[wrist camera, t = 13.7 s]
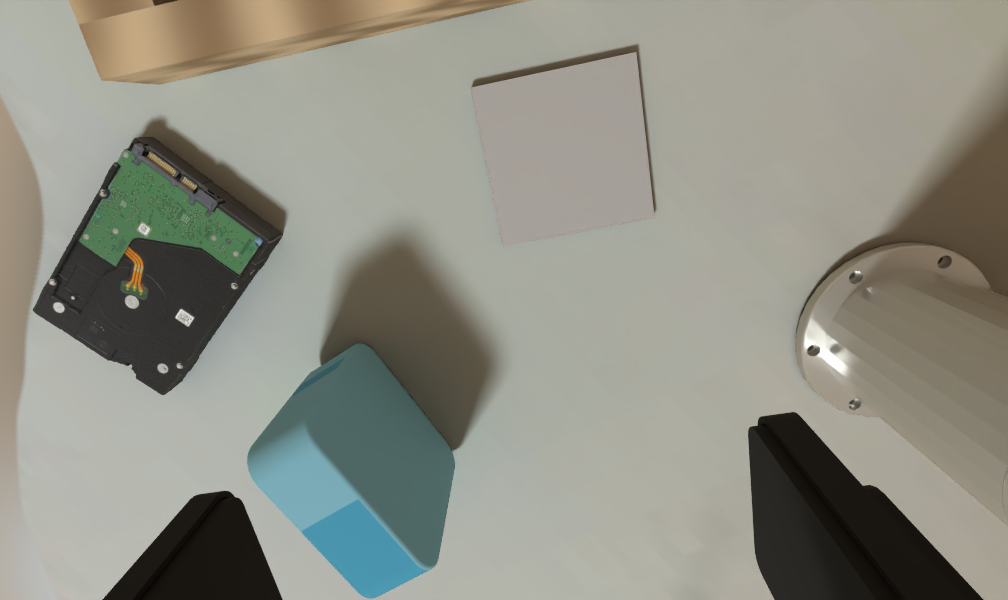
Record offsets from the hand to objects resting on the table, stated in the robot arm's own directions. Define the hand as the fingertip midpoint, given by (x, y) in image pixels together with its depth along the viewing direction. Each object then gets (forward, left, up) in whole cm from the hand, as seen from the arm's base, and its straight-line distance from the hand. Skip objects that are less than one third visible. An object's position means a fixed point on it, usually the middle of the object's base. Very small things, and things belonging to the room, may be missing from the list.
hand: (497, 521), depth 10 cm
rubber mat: (-4, -4, -28) cm, 28 cm away
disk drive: (+24, -1, -29) cm, 38 cm away
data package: (+12, +12, -28) cm, 33 cm away
